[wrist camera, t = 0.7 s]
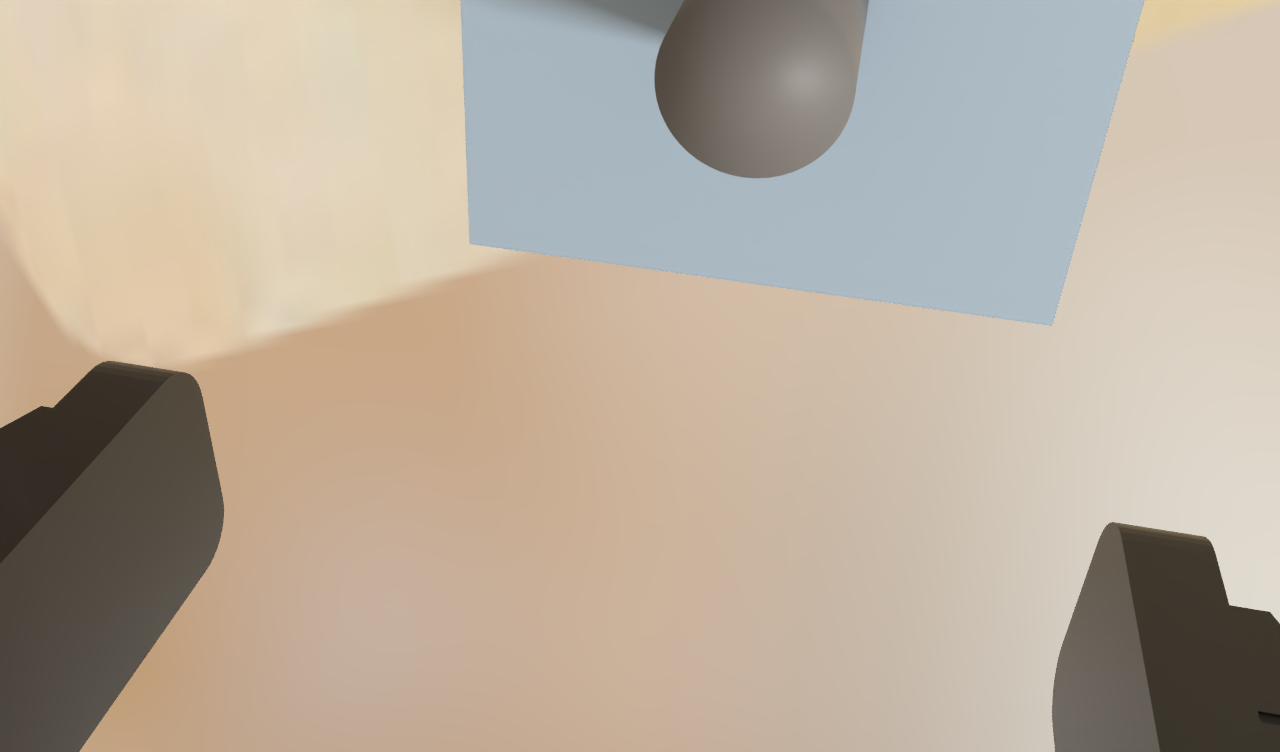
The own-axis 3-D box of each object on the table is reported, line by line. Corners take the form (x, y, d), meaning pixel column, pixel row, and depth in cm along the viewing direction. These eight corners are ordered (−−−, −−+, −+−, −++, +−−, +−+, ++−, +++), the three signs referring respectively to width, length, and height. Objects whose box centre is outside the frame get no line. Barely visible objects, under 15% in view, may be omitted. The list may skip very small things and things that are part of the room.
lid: (482, -439, 22) (325, -430, 17) (1227, -392, 21) (1340, -364, 15) (496, 203, 30) (391, 362, 24) (1044, 277, 28) (1073, 469, 22)
